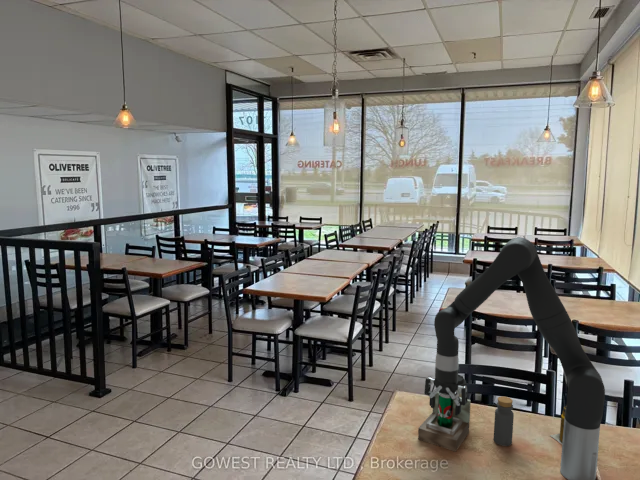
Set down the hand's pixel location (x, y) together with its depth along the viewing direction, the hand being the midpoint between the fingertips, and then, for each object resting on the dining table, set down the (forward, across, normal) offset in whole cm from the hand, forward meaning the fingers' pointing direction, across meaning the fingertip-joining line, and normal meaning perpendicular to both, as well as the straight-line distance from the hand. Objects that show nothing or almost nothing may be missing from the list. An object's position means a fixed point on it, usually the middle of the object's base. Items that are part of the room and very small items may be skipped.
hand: (444, 410), depth 161 cm
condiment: (+9, +36, +21) cm, 42 cm away
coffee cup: (+9, -2, +16) cm, 19 cm away
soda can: (+5, 0, 0) cm, 5 cm away
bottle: (+9, +18, +8) cm, 21 cm away
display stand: (+9, 0, 0) cm, 9 cm away
